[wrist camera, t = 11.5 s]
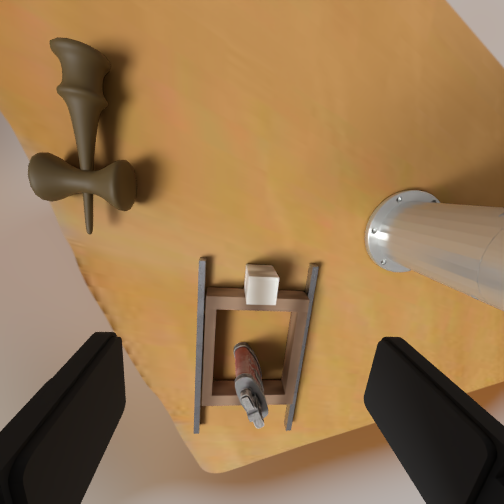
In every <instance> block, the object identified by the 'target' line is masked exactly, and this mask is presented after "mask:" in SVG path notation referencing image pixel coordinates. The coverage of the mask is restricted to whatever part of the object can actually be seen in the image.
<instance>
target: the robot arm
mask: <svg viewBox="0 0 504 504" xmlns="http://www.w3.org/2000/svg"><path fill="white" fill-rule="evenodd" d="M371 230H372V231H371ZM365 246H366V249H367V252H368V254H369V256H370V258H371V259H372V260H373V261H374V262H375V263H376V264H377V265H378V266H380V267H382V268H384V269H386V270H388V271H392V272H407V271H410V270H413V271H415V272H417V273H419V274H422V275H424V276H426V277H428V278H431V279H433V280H435V281H437V282H439V283H442V284H444V285H446V286H448V287H451V288H453V289H455V290H457V291H459V292H462V293H464V294H466V295H468V296H471V297H473V298H475V299H477V300H479V301H482V302H484V303H486V304H489V305H491V306H493V307H495V308H497V309H500V310H502V311H504V208H503V207H489V206H475V205H461V204H447V203H440V201H439V200H438V199H437V198H436V197H434V196H433V195H432V194H429V193H427V192H424V191H420V190H407V191H402V192H398V193H395V194H393V195H392V196H390V197H388V198H387V199H385V200H384V201H383V202H381V204H380V205H379V206H378V207H377V208H376V209H375V210H374V212H373V213H372V215H371V217H370V219H369V221H368V223H367V227H366V231H365ZM125 403H126V398H125V382H124V367H123V352H122V339H121V337H117V335H116V333H114V332H95V333H94V334H93V335H92V336H91V337H90V338H89V339H88V340H87V341H86V342H85V343H84V344H83V345H82V346H81V347H80V349H79V350H78V351H77V352H76V353H75V354H74V355H73V356H72V357H71V358H70V359H69V360H68V362H67V363H66V364H65V365H64V366H63V367H62V368H61V369H60V370H59V371H58V372H57V374H56V375H55V376H54V377H53V378H51V379H50V380H49V381H48V382H46V383H45V385H44V386H43V387H42V388H41V389H40V390H39V391H38V392H37V393H36V394H35V395H34V396H33V398H31V399H30V401H29V402H28V403H27V404H26V405H25V406H24V407H23V408H22V409H21V410H20V411H19V412H18V413H17V414H16V416H15V417H14V418H13V419H12V420H11V421H10V422H9V423H8V424H7V425H6V426H5V427H4V428H3V430H2V431H1V432H0V504H81V502H82V499H83V497H84V495H85V493H86V491H87V489H88V486H89V484H90V482H91V480H92V478H93V476H94V474H95V472H96V469H97V467H98V465H99V463H100V461H101V459H102V457H103V454H104V452H105V450H106V448H107V446H108V444H109V442H110V439H111V437H112V435H113V433H114V431H115V429H116V427H117V424H118V422H119V420H120V418H121V416H122V414H123V411H124V408H125ZM364 403H365V406H366V408H367V410H368V411H369V413H370V415H371V416H372V418H373V419H374V421H375V422H376V424H377V426H378V427H379V429H380V430H381V432H382V434H383V435H384V437H385V438H386V440H387V441H388V443H389V445H390V446H391V448H392V449H393V451H394V453H395V454H396V456H397V458H398V459H399V461H400V462H401V464H402V466H403V467H404V469H405V470H406V472H407V473H408V475H409V477H410V478H411V480H412V481H413V483H414V485H415V486H416V488H417V489H418V491H419V493H420V494H421V496H422V497H423V499H424V501H425V502H426V504H504V426H503V425H502V424H501V423H500V422H499V421H497V420H496V419H495V418H494V417H493V416H491V415H490V414H489V413H488V412H487V411H486V410H485V409H483V408H482V407H481V406H480V405H479V404H478V403H477V402H475V401H474V400H473V399H472V398H471V397H470V396H468V395H467V394H466V393H465V392H464V391H463V390H461V389H460V388H459V387H458V386H457V385H456V384H455V383H453V382H452V381H451V380H450V379H449V378H448V377H446V376H445V375H444V374H443V373H442V372H441V371H440V370H438V369H437V368H436V367H435V366H434V365H433V364H431V363H430V362H429V361H428V360H427V359H426V358H424V357H423V356H422V355H421V354H420V353H419V352H418V351H416V350H415V349H414V348H413V347H412V346H411V345H409V344H408V343H407V342H406V341H405V340H404V339H402V338H400V337H383V338H382V340H381V341H379V342H378V345H377V349H376V353H375V356H374V360H373V364H372V368H371V371H370V375H369V379H368V383H367V387H366V390H365V394H364Z"/></svg>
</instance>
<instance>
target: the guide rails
mask: <svg viewBox="0 0 504 504" xmlns="http://www.w3.org/2000/svg"><path fill="white" fill-rule="evenodd" d="M318 268H319V267H318V266H317V265H316V264H309V270H308V276H307V283H306V289H305V294H306V295H307V297H308V298H309V299H310V302H309V308H308V314H307V320H306V326H305V332H304V338H303V344H302V350H301V356H300V361H299V367H298V373H297V379H296V385H295V391H294V397H293V403H292V404H287V408H286V414H285V420H284V424H285V428H286V431H287V430H291V426H292V420H293V414H294V408H295V403H296V397H297V391H298V385H299V379H300V373H301V368H302V362H303V356H304V350H305V344H306V338H307V332H308V327H309V321H310V315H311V309H312V303H313V297H314V292H315V286H316V280H317V274H318ZM205 283H206V258H200V260H199V279H198V312H197V344H196V377H195V410H194V434H195V433H199V429H200V411H201V386H202V360H203V335H204V309H205Z"/></svg>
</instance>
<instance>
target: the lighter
mask: <svg viewBox="0 0 504 504" xmlns="http://www.w3.org/2000/svg"><path fill="white" fill-rule="evenodd" d="M234 356H235V366H236V379H235V389H236V393H237V396H238V398H239V400H240V403H241V404H242V406H243V407H244V409H245V410H246V412H247V415H248V419H249V421H250V422H252V421H253V423H254V425H255V426H256V428H261V427H263V426H264V420H263V418H264V417H266V416H267V414H268V407H267V402H266V398H265V395H264V387H263V383H262V380H261V378H262V373H261V368H260V364H259V362H258V359H257V357H256V355H255V353H254V352H253V350H252V349H251V348H250V346H249V345H248V344H247V343H245V342H240V343H238V344H236V345H235V346H234Z"/></svg>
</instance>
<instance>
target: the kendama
mask: <svg viewBox="0 0 504 504" xmlns="http://www.w3.org/2000/svg"><path fill="white" fill-rule="evenodd" d="M50 47H51V50H52V51H53V53H54V54H55V55H56V56H57V57H58V58H59V60H60V62H61V66H62V82H61V84H60V85H59V86H57V93H58V94H59V95H60V96H61V97H62V98H63V99H64V100H65V102H66V104H67V106H68V109H69V112H70V116H71V120H72V124H73V129H74V134H75V139H76V144H77V150H78V156H79V163H80V169H78V168H75V167H73V166H72V165H70V164H68V163H67V162H65V161H64V160H63V159H61V158H59V157H57V156H55V155H53V154H50V153H37V154H36V155H34V156H32V158H31V160H30V163H29V166H28V177H29V181H30V185H31V187H32V189H33V191H34V193H35V194H36V195H37V196H38V197H40V198H41V199H43V200H47V201H57V200H61V199H64V198H66V197H68V196H70V195H73V194H76V193H83V201H84V212H85V223H86V230H87V233H88V234H92V231H93V194H95V195H98V196H100V197H102V198H103V199H105V200H106V201H107V202H109V203H110V204H111V205H113V206H114V207H115V208H117V209H118V210H122V211H127V210H129V209H131V207H132V206H133V204H134V202H135V198H136V191H137V184H136V176H135V172H134V170H133V168H132V166H131V164H130V163H129V162H127V161H126V160H118V161H115V162H114V163H112V164H110V165H108V166H107V167H105V168H103V169H101V170H98V171H94V153H95V142H96V134H97V127H98V121H99V116H100V113H101V111H102V110H103V109H104V108H106V107H107V106H108V102H107V101H106V99H105V98H104V96H103V89H102V87H103V78H104V76H105V74H107V73H108V72H109V70H110V67H111V66H110V63H109V61H108V60H107V58H106V57H105V56H104V55H103V54H102V53H100V52H99V51H98V50H96V49H94V48H92V47H91V46H89V45H87V44H84V43H82V42H79V41H76V40H72V39H68V38H55V39H52V40H50Z"/></svg>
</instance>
